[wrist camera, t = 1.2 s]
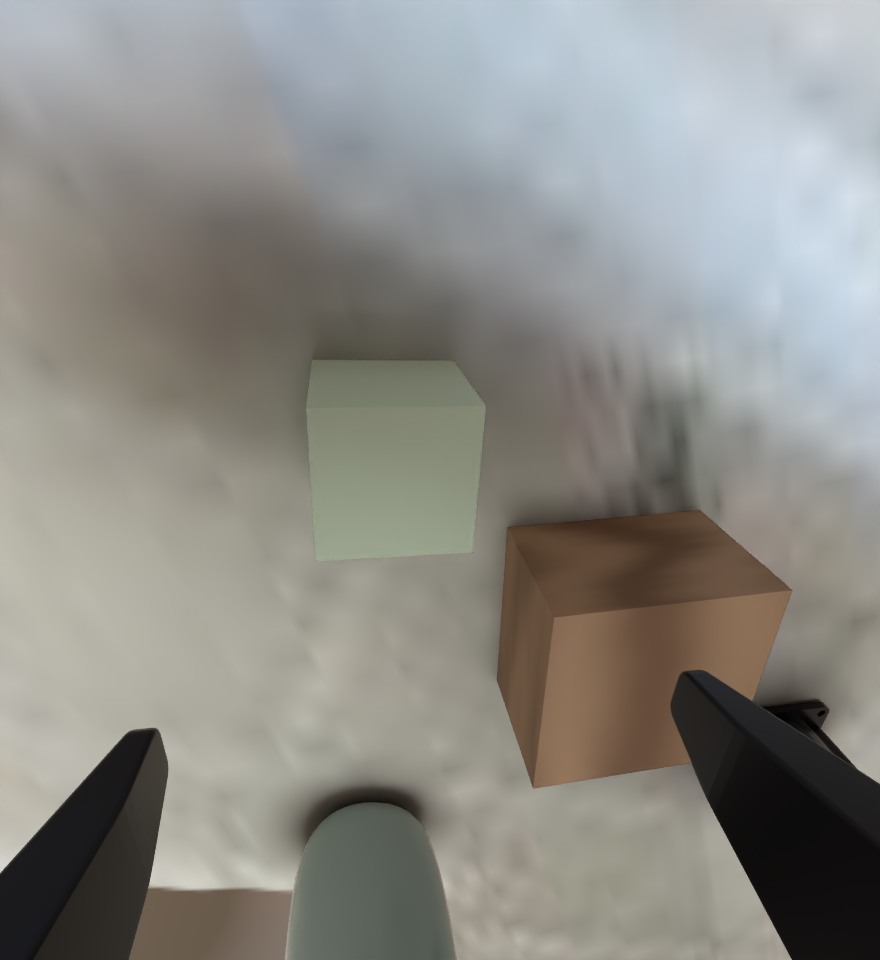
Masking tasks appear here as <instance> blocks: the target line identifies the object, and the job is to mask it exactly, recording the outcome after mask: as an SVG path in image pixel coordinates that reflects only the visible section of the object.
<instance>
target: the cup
mask: <svg viewBox="0 0 880 960" xmlns="http://www.w3.org/2000/svg"><path fill="white" fill-rule="evenodd" d="M285 960H457V956H456V949H455V944H454V938H453V932H452V926H451V921H450V915H449V910H448V905H447V900H446V895H445V890H444V886H443V882H442V878H441V874H440V870H439V867H438V863H437V860H436V856H435V853H434V850H433V848H432V845H431V842H430V840H429V837H428V835H427V833H426V831H425V829H424V828H423V826H422V825H421V824H420V823H419V821H418V820H417V819H416V818H415V816H414V815H412V814H411V813H409V812H408V811H406V810H405V809H403V808H401V807H399V806H396V805H393V804H388V803H383V802H363V803H356V804H352V805H349V806H346V807H343V808H341V809H339V810H337V811H335V812H333V813H332V814H330V815H329V816H327V817H326V818H325V819H324V820H323V821H322V822H321V823H320V824H319V825H318V826H317V827H316V829H315V830H314V832H313V833H312V835H311V836H310V838H309V840H308V842H307V843H306V846H305V848H304V851H303V853H302V856H301V859H300V862H299V865H298V869H297V873H296V877H295V882H294V888H293V893H292V901H291V908H290V915H289V924H288V933H287V943H286V954H285Z"/></svg>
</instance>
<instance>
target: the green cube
mask: <svg viewBox="0 0 880 960" xmlns="http://www.w3.org/2000/svg"><path fill="white" fill-rule="evenodd" d="M485 413H486V405H485V404H484V403H483V401H482V400H481V398H480V397H479V396H478V394H477V393H476V391H475V390H474V388H473V387H472V386H471V384H470V383H469V381H468V380H467V379H466V377H465V376H464V374H463V373H462V372H461V370H460V369H459V367H458V366H457V365H456V363H455V362H454V361H452V360H312V363H311V371H310V379H309V387H308V395H307V403H306V418H307V435H308V451H309V468H310V484H311V500H312V517H313V533H314V550H315V561H330V560H348V559H366V558H384V557H402V556H420V555H439V554H457V553H473V544H474V533H475V522H476V511H477V500H478V489H479V478H480V467H481V456H482V445H483V434H484V423H485Z"/></svg>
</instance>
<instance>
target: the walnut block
mask: <svg viewBox="0 0 880 960" xmlns="http://www.w3.org/2000/svg"><path fill="white" fill-rule="evenodd" d="M791 593H792V589H790V588H789V587H788V586H787V585H786V584H785V583H783V582H782V581H781V580H780V579H779V578H778V577H777V576H775V575H774V574H773V573H772V572H771V571H770V570H768V569H767V568H766V567H765V566H764V565H763V564H762V563H760V562H759V561H758V560H757V559H756V558H755V557H753V556H752V555H751V554H750V553H749V552H748V551H746V550H745V549H744V548H743V547H742V546H741V545H740V544H738V543H737V542H736V541H735V540H734V539H733V538H731V537H730V536H729V535H728V534H727V533H726V532H725V531H723V530H722V529H721V528H720V527H719V526H718V525H716V524H715V523H714V522H713V521H712V520H711V519H709V518H708V517H707V516H706V515H705V514H704V513H703V512H701V511H700V510H698V511H686V512H675V513H664V514H653V515H642V516H630V517H619V518H608V519H597V520H586V521H575V522H563V523H552V524H541V525H530V526H519V527H508V528H507V540H506V555H505V570H504V584H503V599H502V614H501V629H500V643H499V658H498V673H497V682H498V685H499V688H500V691H501V694H502V697H503V700H504V703H505V706H506V709H507V712H508V715H509V718H510V721H511V724H512V727H513V730H514V733H515V736H516V738H517V741H518V744H519V747H520V750H521V753H522V756H523V759H524V762H525V765H526V768H527V771H528V774H529V777H530V780H531V783H532V786H533V788H540V787H546V786H552V785H558V784H564V783H570V782H577V781H583V780H589V779H595V778H601V777H608V776H614V775H620V774H626V773H632V772H638V771H645V770H651V769H657V768H663V767H669V766H676V765H682V764H688V763H691V761H690V758H689V756H688V753H687V751H686V749H685V746H684V744H683V741H682V739H681V737H680V734H679V732H678V729H677V727H676V725H675V722H674V720H673V717H672V714H671V709H670V702H671V698H672V695H673V692H674V689H675V686H676V683H677V680H678V677H679V675H680V674H681V673H682V672H684V671H690V670H704V671H706V672H708V673H710V674H711V675H713V676H715V677H716V678H718V679H719V680H721V681H722V682H724V683H725V684H727V685H728V686H730V687H731V688H733V689H735V690H736V691H738V692H739V693H741V694H742V695H744V696H745V697H747V698H748V699H750V700H751V701H753V698H754V695H755V693H756V690H757V687H758V684H759V681H760V679H761V676H762V673H763V670H764V668H765V665H766V662H767V659H768V657H769V654H770V651H771V648H772V645H773V643H774V640H775V637H776V634H777V632H778V629H779V626H780V623H781V620H782V618H783V615H784V612H785V609H786V607H787V604H788V601H789V598H790V595H791Z"/></svg>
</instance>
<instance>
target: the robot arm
mask: <svg viewBox="0 0 880 960" xmlns="http://www.w3.org/2000/svg"><path fill="white" fill-rule="evenodd" d="M670 709H671V714H672V717H673V720H674V722H675V725H676V727H677V729H678V732H679V734H680V737H681V739H682V741H683V744H684V746H685V749H686V751H687V753H688V756H689V758H690V761H691V763H692V765H693V768H694V770H695V773H696V775H697V777H698V780H699V782H700V785H701V787H702V789H703V791H704V793H705V796H706V798H707V800H708V802H709V804H710V806H711V808H712V810H713V812H714V814H715V816H716V817H717V819H718V821H719V823H720V825H721V827H722V829H723V831H724V833H725V834H726V836H727V838H728V840H729V842H730V844H731V846H732V848H733V850H734V851H735V853H736V855H737V857H738V859H739V861H740V863H741V865H742V867H743V868H744V870H745V872H746V874H747V876H748V878H749V880H750V882H751V884H752V885H753V887H754V889H755V891H756V893H757V895H758V897H759V899H760V900H761V902H762V904H763V906H764V908H765V910H766V912H767V914H768V916H769V917H770V919H771V921H772V923H773V925H774V927H775V929H776V931H777V933H778V934H779V936H780V938H781V940H782V942H783V944H784V946H785V948H786V950H787V951H788V953H789V955H790V957H791V959H792V960H880V784H879V783H878V782H876V781H875V780H873V779H871V778H870V777H868V776H867V775H865V774H864V773H862V772H861V771H859V770H858V769H857V768H856V767H855V766H854V765H853V764H852V763H851V762H850V760H849V759H848V758H847V757H846V756H845V755H844V754H843V753H842V752H841V751H840V749H839V748H838V747H837V746H836V745H835V744H834V743H833V742H832V741H831V740H830V738H829V737H828V736H827V735H826V734H825V733H824V732H823V731H822V730H821V729H820V728H821V726H822V724H823V723H824V721H825V719H826V717H827V715H828V713H829V708H828V707H827V706H826V705H825V704H824V703H822V702H814V703H805V704H796V705H788V706H779V707H770V708H762V707H761V706H759V705H758V704H756V703H755V702H753V701H751V700H750V699H748V698H747V697H745V696H744V695H742V694H741V693H739V692H738V691H736V690H735V689H733V688H731V687H730V686H728V685H727V684H725V683H724V682H722V681H721V680H719V679H718V678H716V677H715V676H713V675H711V674H710V673H708V672H706V671H704V670H690V671H684V672H682V673H681V674H680V675H679V677H678V680H677V683H676V686H675V689H674V692H673V695H672V698H671V702H670ZM167 778H168V761H167V757H166V753H165V749H164V745H163V742H162V738H161V734H160V732H159V730H158V729H156V728H146V729H136V730H131V731H129V732H128V733H127V734H125V735H124V736H123V738H122V739H121V740H120V741H119V742H118V743H117V744H116V745H115V746H114V748H113V749H112V750H111V751H110V752H109V753H108V754H107V755H106V756H105V758H104V759H103V760H102V761H101V762H100V763H99V764H98V765H97V766H96V768H95V769H94V770H93V771H92V772H91V773H90V774H89V775H88V776H87V777H86V779H85V780H84V781H83V782H82V783H81V784H80V785H79V786H78V787H77V789H76V790H75V791H74V792H73V793H72V794H71V795H70V796H69V797H68V799H67V800H66V801H65V802H64V803H63V804H62V805H61V806H60V807H59V809H58V810H57V811H56V812H55V813H54V814H53V815H52V816H51V817H50V819H49V820H48V821H47V822H46V823H45V824H44V825H43V826H42V827H41V829H40V830H39V831H38V832H37V833H36V834H35V835H34V836H33V837H32V838H31V840H30V841H29V842H28V843H27V844H26V845H25V846H24V847H23V848H22V850H21V851H20V852H19V853H18V854H17V855H16V856H15V857H14V858H13V860H12V861H11V862H10V863H9V864H8V865H7V866H6V867H5V868H4V870H3V871H2V872H1V873H0V960H129V956H130V952H131V949H132V945H133V942H134V938H135V934H136V931H137V927H138V924H139V920H140V917H141V913H142V909H143V906H144V902H145V898H146V894H147V890H148V886H149V882H150V877H151V872H152V866H153V861H154V855H155V849H156V843H157V837H158V831H159V825H160V819H161V813H162V808H163V802H164V796H165V790H166V784H167Z"/></svg>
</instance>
